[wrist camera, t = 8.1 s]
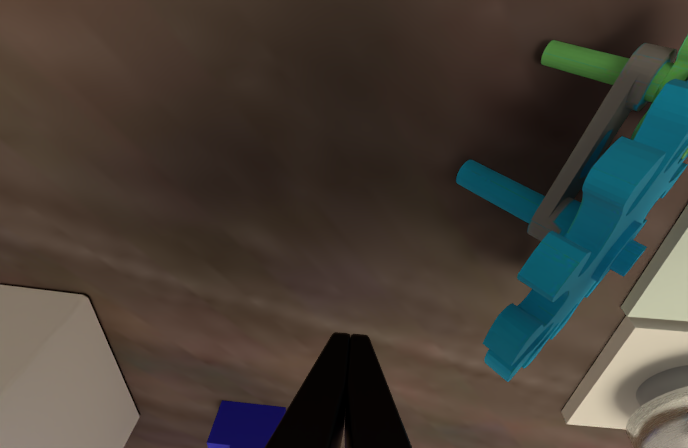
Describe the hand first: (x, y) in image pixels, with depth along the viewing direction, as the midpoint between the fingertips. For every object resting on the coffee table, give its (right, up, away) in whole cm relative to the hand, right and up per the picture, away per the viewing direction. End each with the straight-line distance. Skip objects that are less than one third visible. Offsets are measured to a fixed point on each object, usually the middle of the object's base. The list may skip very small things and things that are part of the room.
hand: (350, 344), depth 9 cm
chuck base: (+18, -6, +12) cm, 23 cm away
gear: (+10, +4, +7) cm, 13 cm away
